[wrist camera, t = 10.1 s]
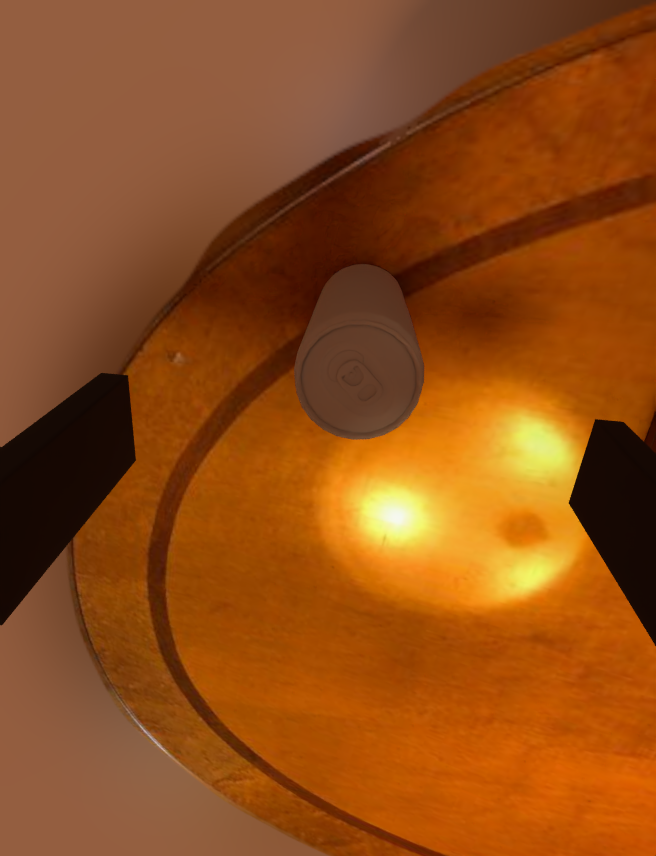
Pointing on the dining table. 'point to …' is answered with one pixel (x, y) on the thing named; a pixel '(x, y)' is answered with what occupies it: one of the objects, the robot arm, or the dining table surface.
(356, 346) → the beverage can
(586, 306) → the dining table surface
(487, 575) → the dining table surface
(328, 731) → the dining table surface
